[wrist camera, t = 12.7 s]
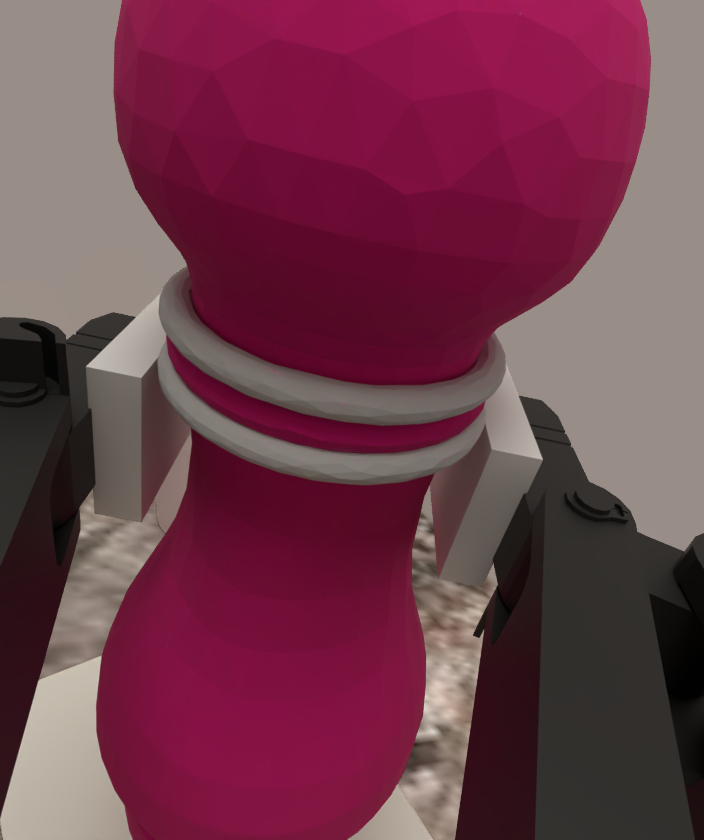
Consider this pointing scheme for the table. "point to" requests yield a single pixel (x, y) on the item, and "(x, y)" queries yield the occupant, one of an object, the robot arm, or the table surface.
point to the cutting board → (105, 774)
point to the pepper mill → (333, 361)
